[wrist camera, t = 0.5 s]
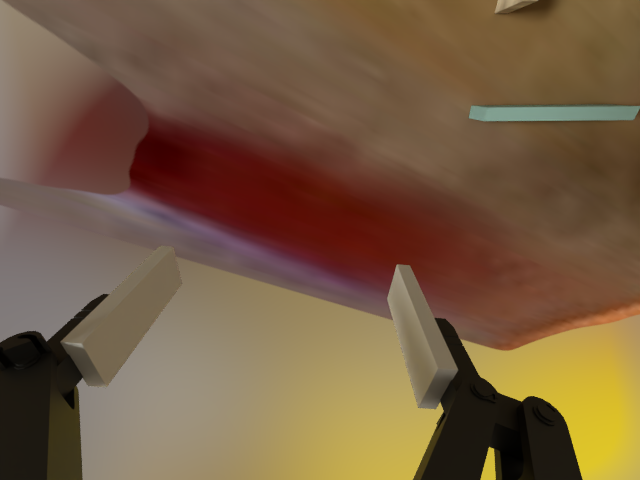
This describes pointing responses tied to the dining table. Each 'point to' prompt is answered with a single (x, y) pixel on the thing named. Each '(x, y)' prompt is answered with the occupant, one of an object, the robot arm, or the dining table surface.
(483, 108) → the bar
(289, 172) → the dining table surface
